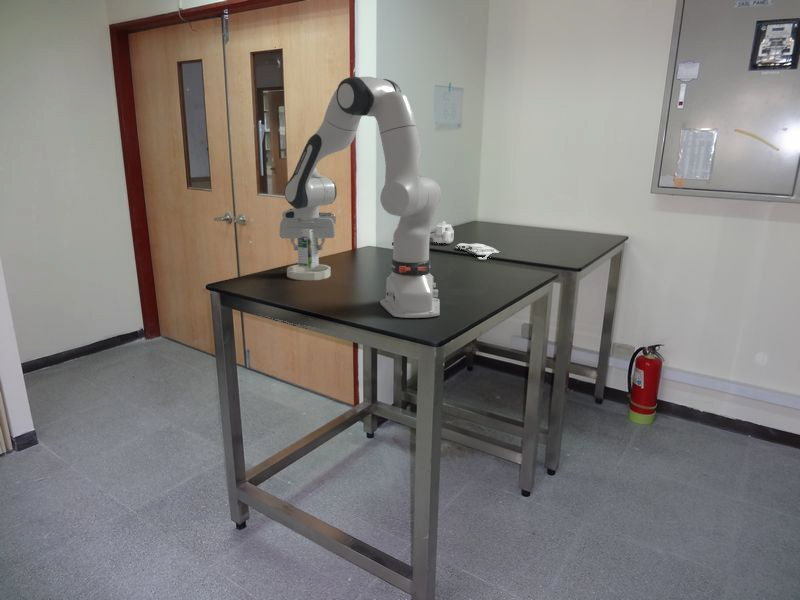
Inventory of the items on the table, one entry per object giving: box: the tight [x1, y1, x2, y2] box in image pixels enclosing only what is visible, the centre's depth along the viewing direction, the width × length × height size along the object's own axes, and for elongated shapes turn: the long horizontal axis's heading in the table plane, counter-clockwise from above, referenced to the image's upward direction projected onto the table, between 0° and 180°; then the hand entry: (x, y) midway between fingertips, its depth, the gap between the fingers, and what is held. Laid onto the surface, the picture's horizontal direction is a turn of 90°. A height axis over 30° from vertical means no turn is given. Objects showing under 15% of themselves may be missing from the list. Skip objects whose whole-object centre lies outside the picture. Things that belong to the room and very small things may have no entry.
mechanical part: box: [430, 220, 455, 244], centre depth 270 cm, size 11×12×12 cm
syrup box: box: [296, 229, 320, 268], centre depth 201 cm, size 6×6×14 cm
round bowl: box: [286, 263, 332, 281], centre depth 203 cm, size 16×16×3 cm
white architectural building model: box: [455, 242, 500, 260], centre depth 250 cm, size 23×25×4 cm
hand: (308, 250), depth 201 cm, fingers closed on syrup box, 7 cm apart
